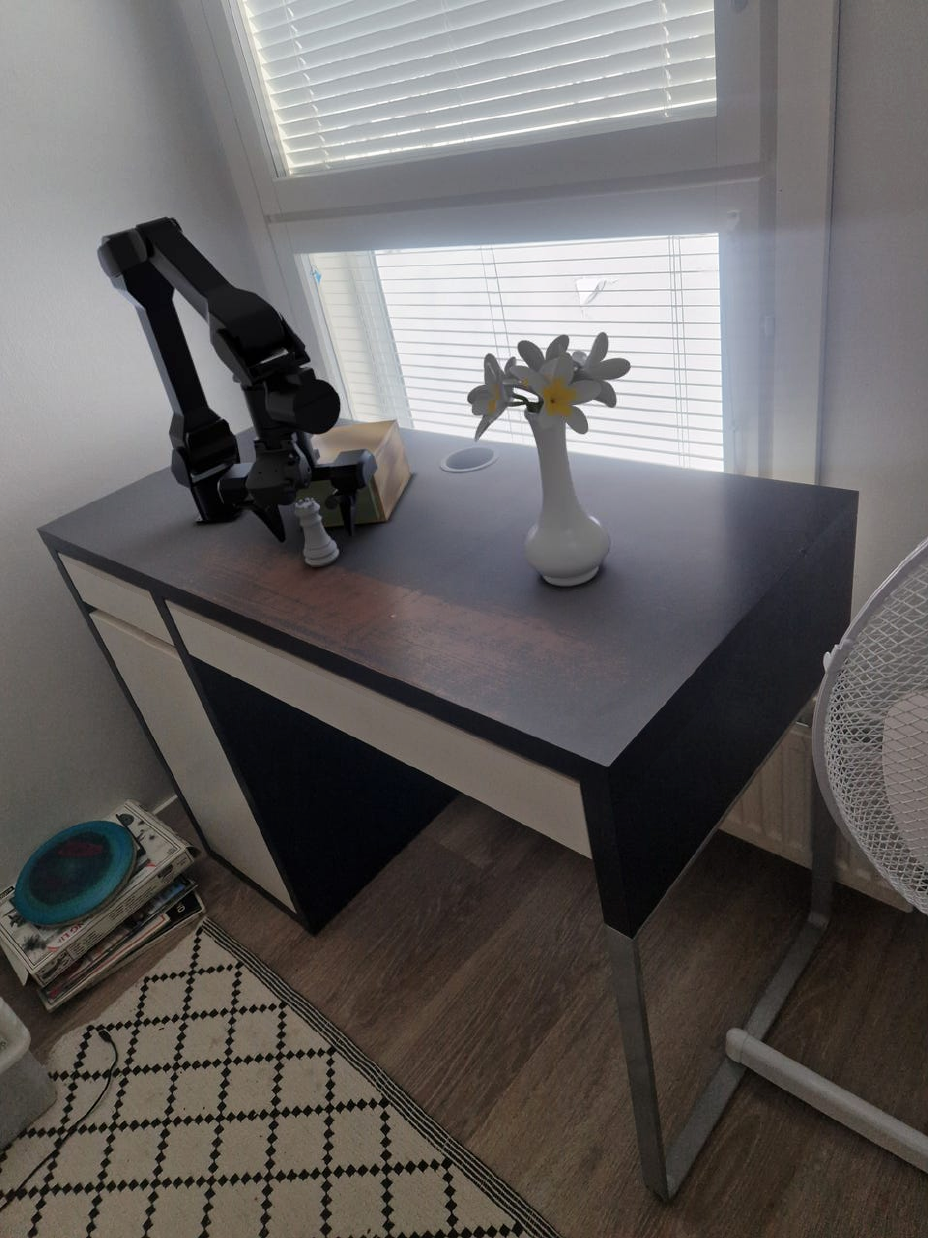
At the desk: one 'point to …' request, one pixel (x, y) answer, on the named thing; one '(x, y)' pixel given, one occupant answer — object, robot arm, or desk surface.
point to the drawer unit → (388, 455)
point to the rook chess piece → (315, 535)
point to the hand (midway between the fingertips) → (317, 538)
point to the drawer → (330, 505)
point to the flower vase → (555, 445)
